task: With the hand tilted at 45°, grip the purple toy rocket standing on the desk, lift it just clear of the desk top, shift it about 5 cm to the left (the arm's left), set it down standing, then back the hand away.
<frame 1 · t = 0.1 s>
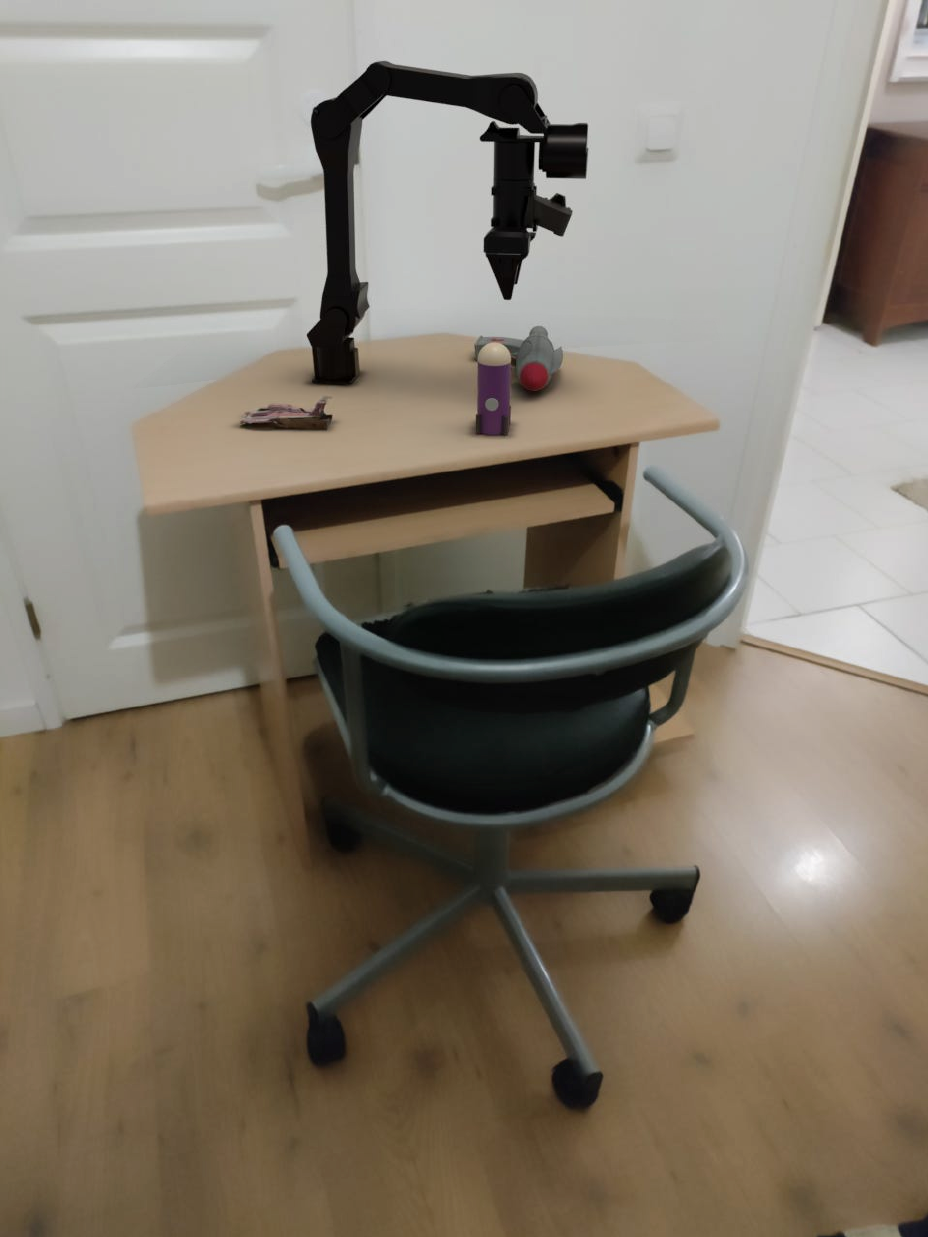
hand: (510, 291, 135), 15 cm above the table, tool pointing down, fingers open, 9 cm apart
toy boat: (287, 424, 131), on the table
toy rocket: (493, 428, 129), on the table
toy ray gun: (516, 375, 149), on the table
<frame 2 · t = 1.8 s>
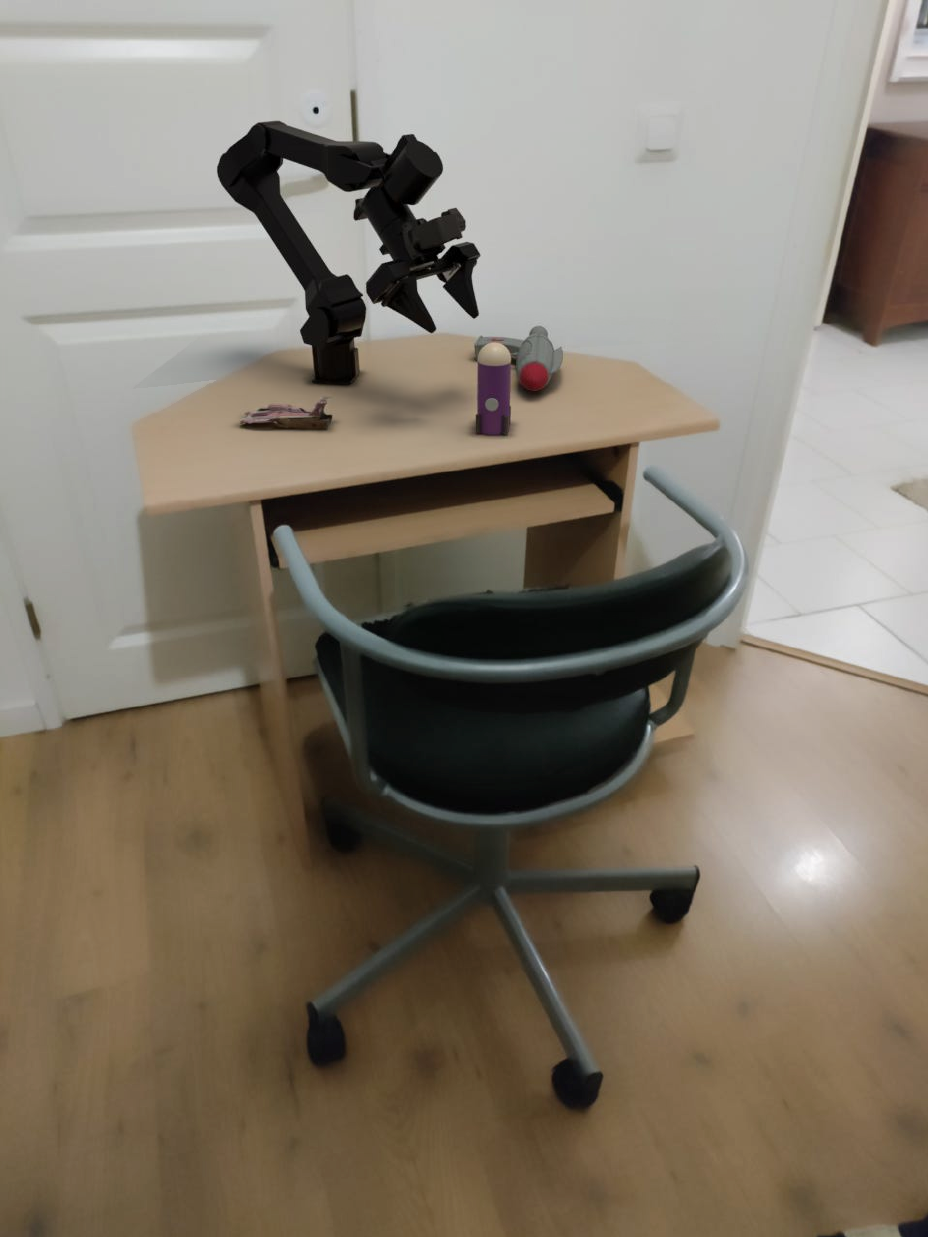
hand: (455, 323, 126), 13 cm above the table, tool tilted 45°, fingers open, 9 cm apart
nothing on the table moved.
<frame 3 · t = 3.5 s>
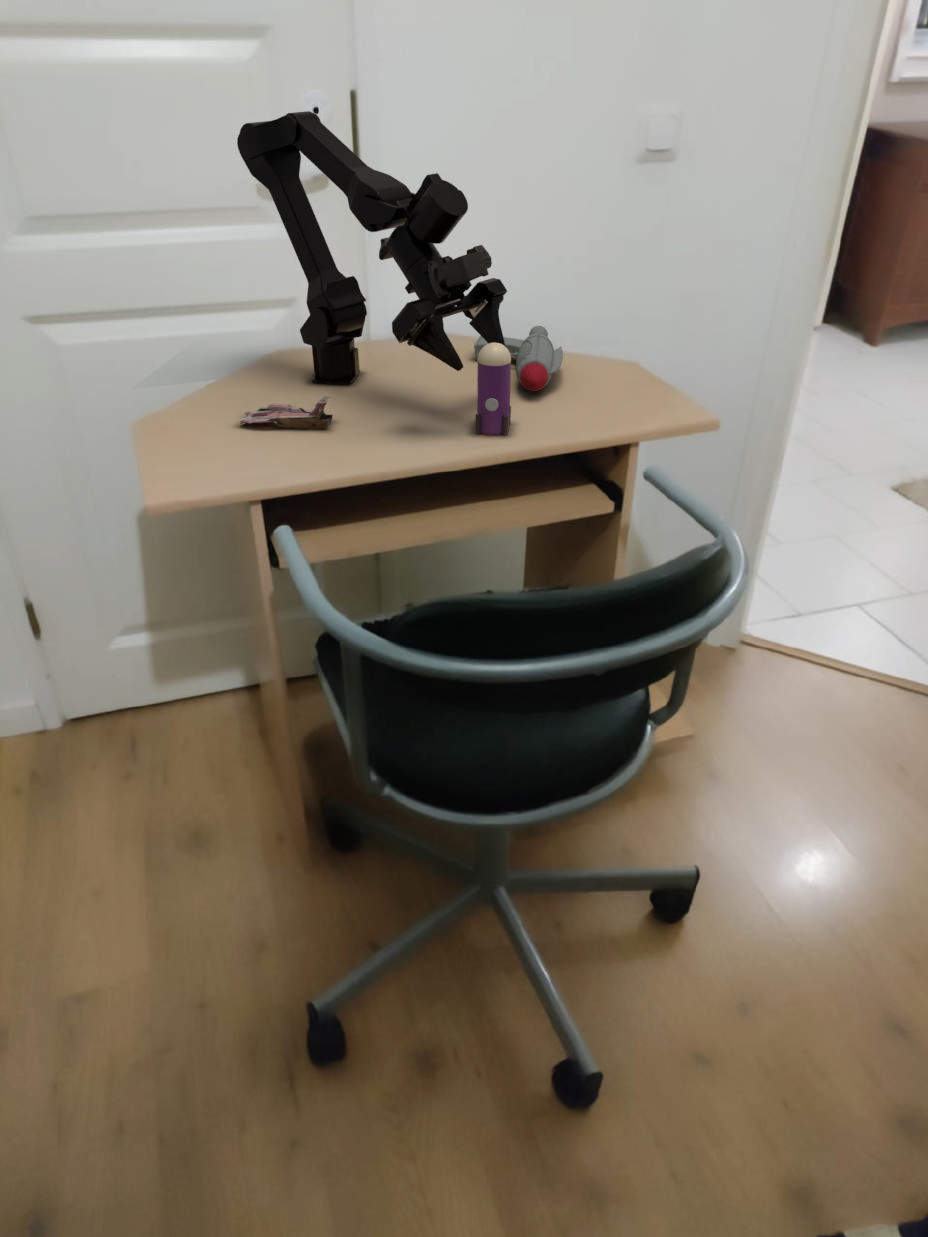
hand: (482, 360, 125), 9 cm above the table, tool tilted 45°, fingers open, 9 cm apart
nothing on the table moved.
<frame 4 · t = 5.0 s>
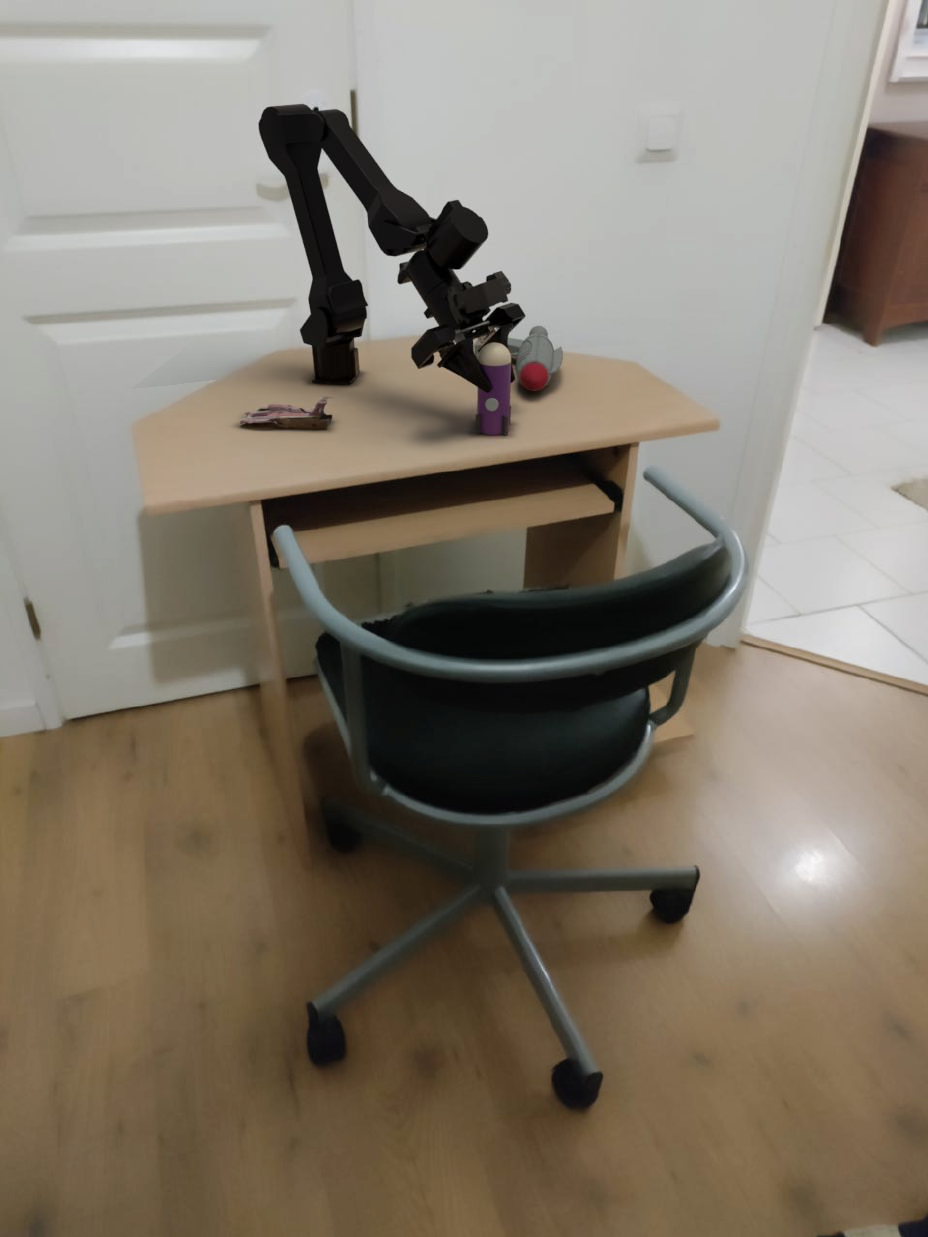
hand: (501, 386, 124), 7 cm above the table, tool tilted 45°, fingers closed on toy rocket, 4 cm apart
toy rocket: (493, 428, 129), on the table, touching gripper
everything else where it was.
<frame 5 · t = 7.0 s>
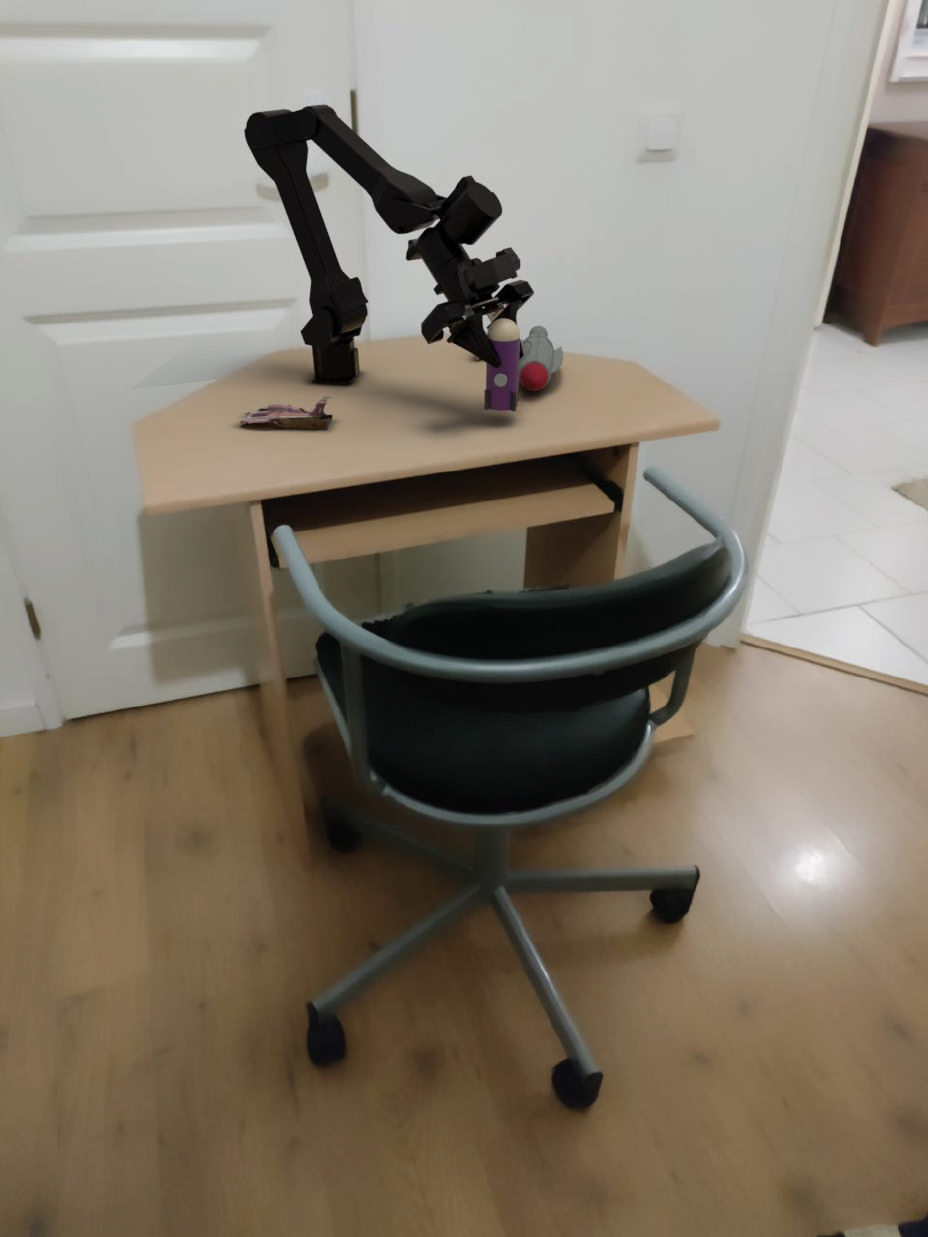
hand: (510, 362, 126), 9 cm above the table, tool tilted 45°, fingers closed on toy rocket, 4 cm apart
toy rocket: (501, 405, 130), point 2 cm above the table, touching gripper
everything else where it was.
when the fingers open (7 cm above the table, at t = 8.8 s): toy rocket stays where it is, on the table.
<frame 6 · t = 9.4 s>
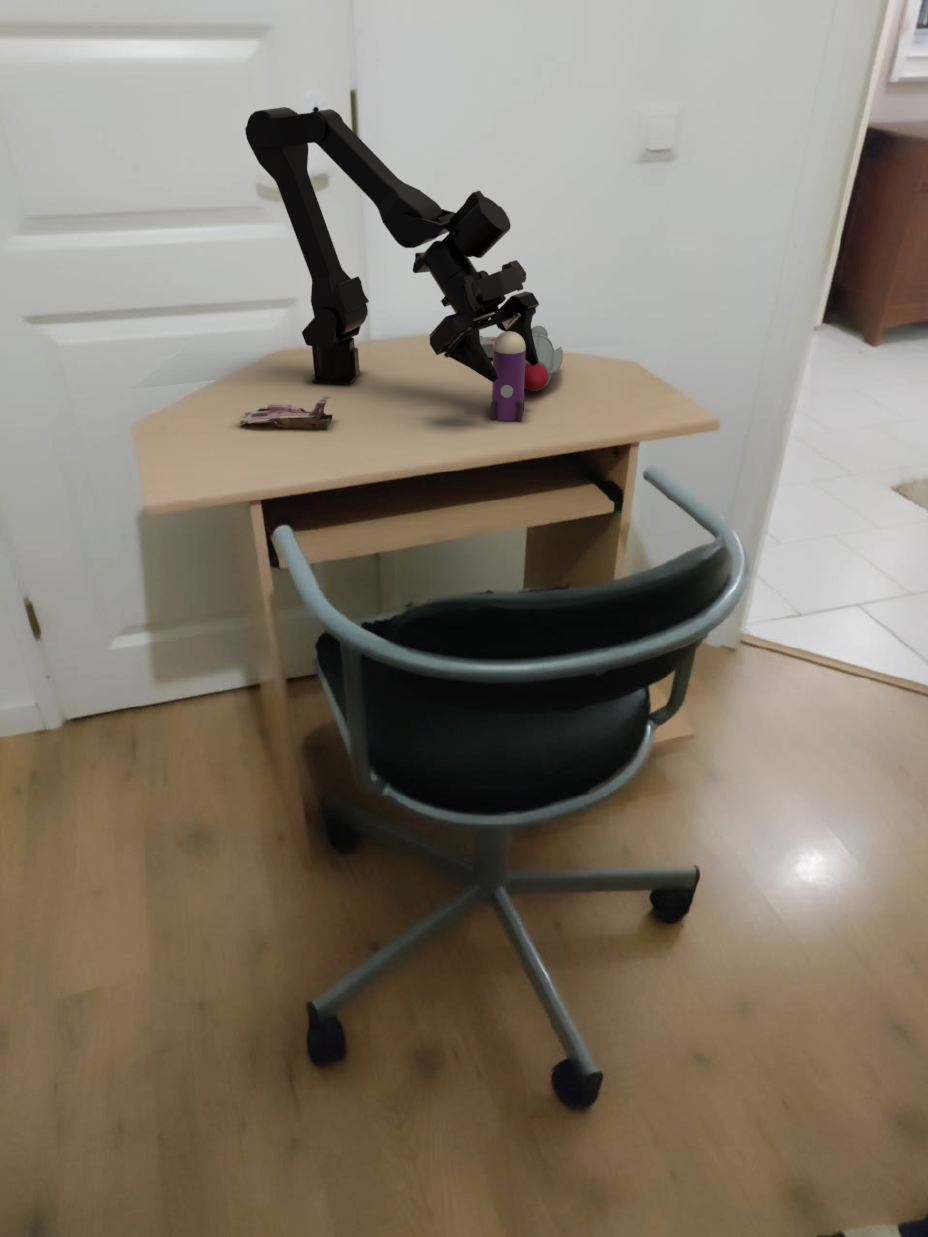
hand: (516, 372, 129), 7 cm above the table, tool tilted 45°, fingers open, 9 cm apart
toy rocket: (507, 415, 133), on the table
everything else where it was.
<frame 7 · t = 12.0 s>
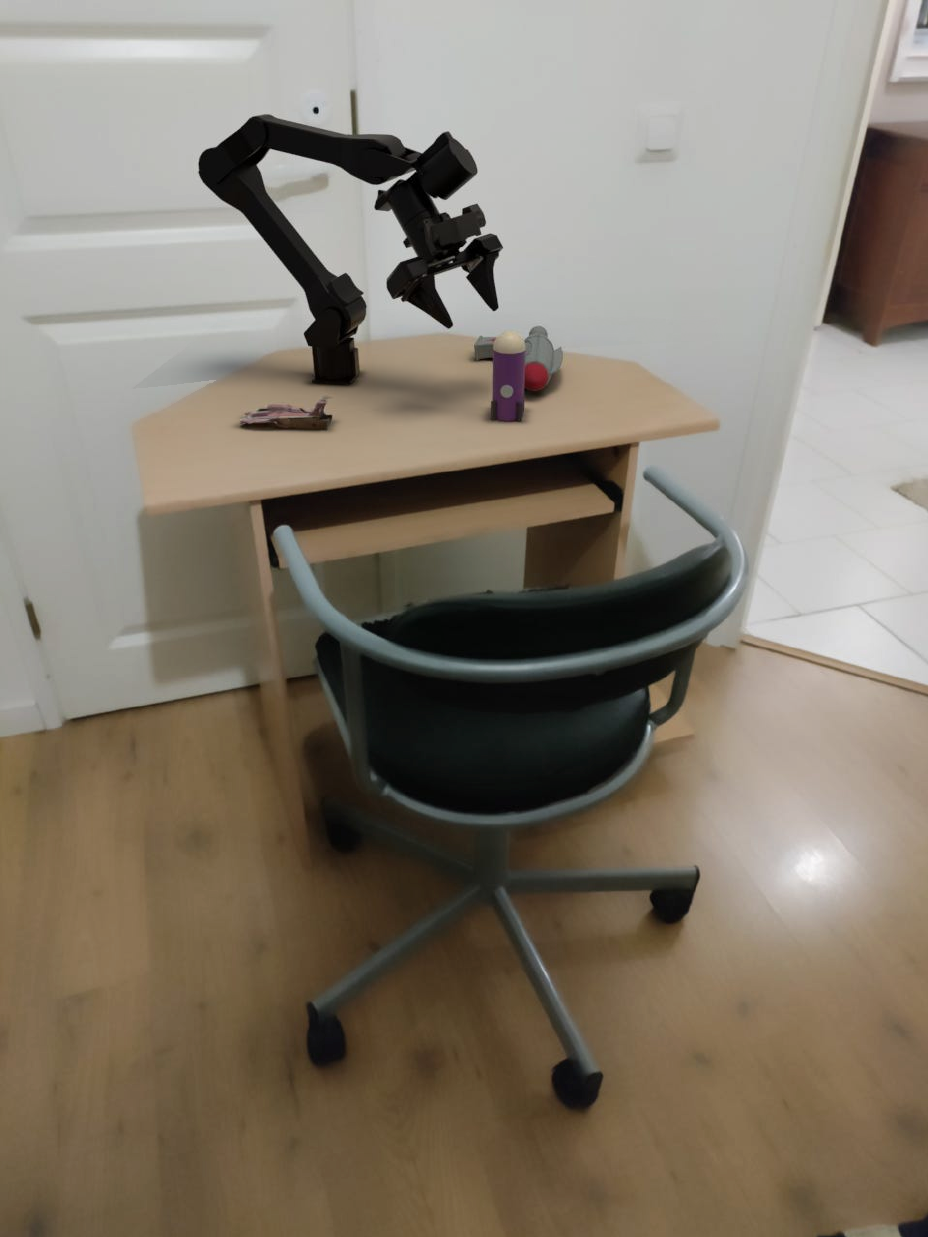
hand: (474, 318, 130), 13 cm above the table, tool tilted 40°, fingers open, 9 cm apart
nothing on the table moved.
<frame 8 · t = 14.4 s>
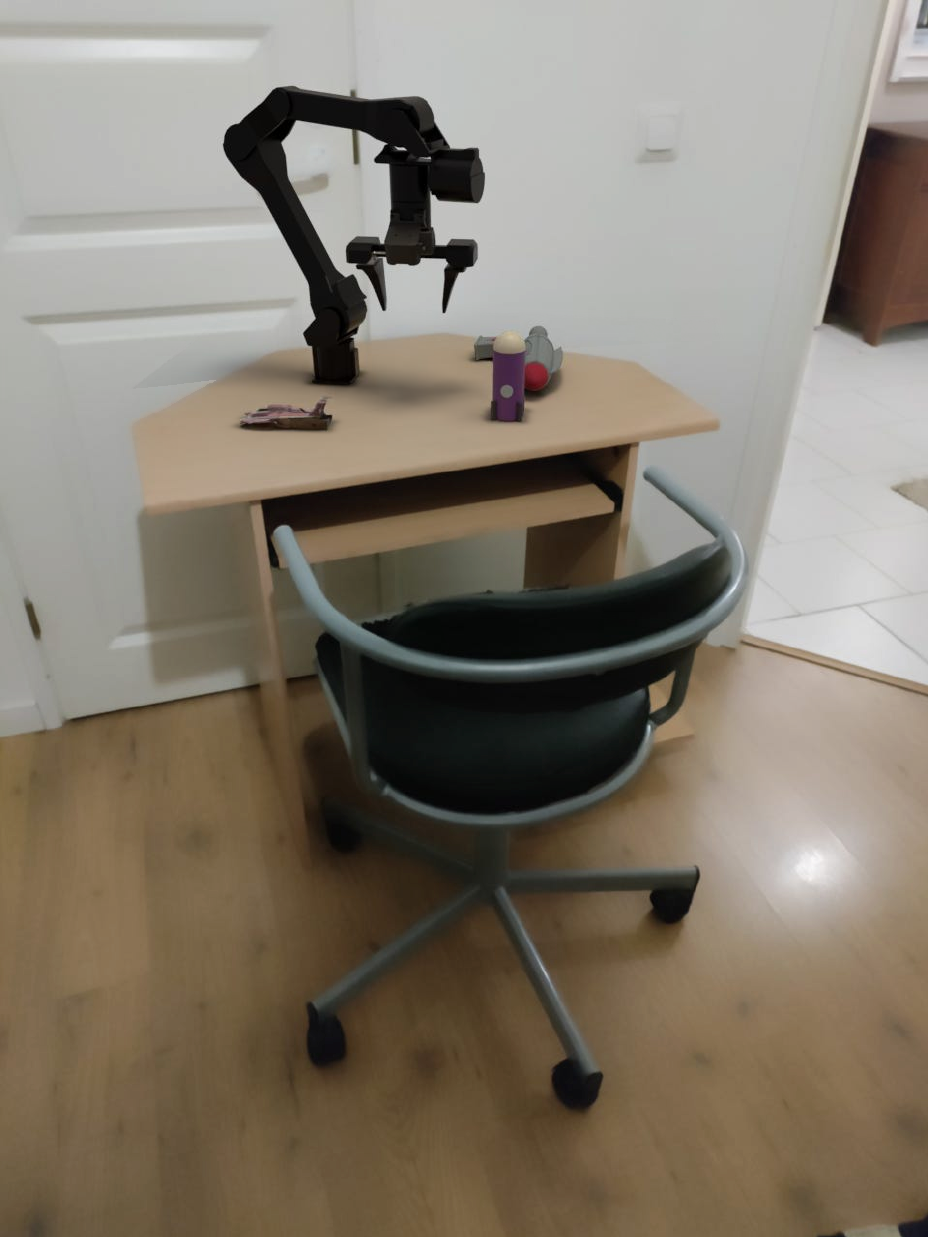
hand: (414, 311, 136), 12 cm above the table, tool pointing down, fingers open, 9 cm apart
nothing on the table moved.
at the end: toy rocket 0.4 cm from the target spot, on the table; toy rocket tilted 0°; the gripper is holding nothing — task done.
